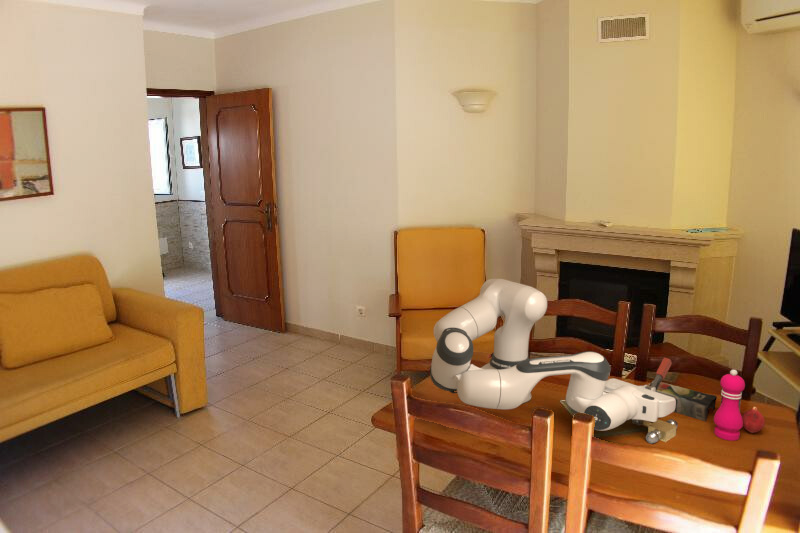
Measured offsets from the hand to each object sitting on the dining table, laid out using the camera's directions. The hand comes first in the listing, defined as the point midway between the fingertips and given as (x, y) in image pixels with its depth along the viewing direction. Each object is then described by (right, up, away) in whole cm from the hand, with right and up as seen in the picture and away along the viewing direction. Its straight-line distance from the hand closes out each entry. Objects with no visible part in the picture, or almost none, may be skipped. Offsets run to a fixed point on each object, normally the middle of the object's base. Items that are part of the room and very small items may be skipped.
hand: (650, 388), depth 171 cm
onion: (+26, -12, -7) cm, 29 cm away
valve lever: (-6, -10, -3) cm, 12 cm away
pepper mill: (+18, -12, -8) cm, 23 cm away
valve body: (-1, -12, -6) cm, 13 cm away
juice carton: (+13, -9, +10) cm, 19 cm away
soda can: (+25, -10, +2) cm, 27 cm away
